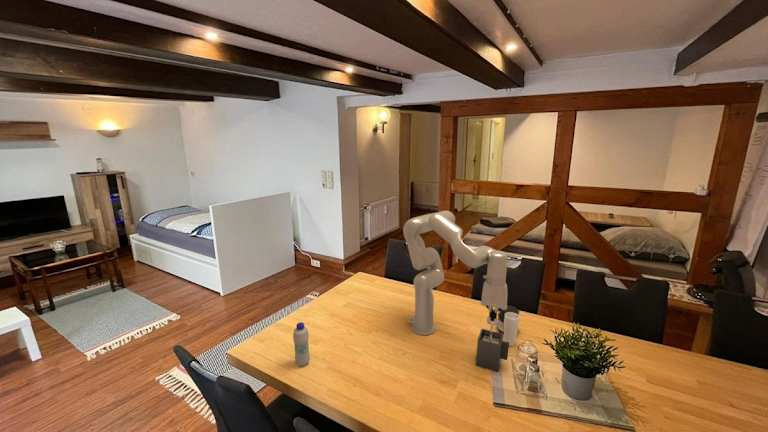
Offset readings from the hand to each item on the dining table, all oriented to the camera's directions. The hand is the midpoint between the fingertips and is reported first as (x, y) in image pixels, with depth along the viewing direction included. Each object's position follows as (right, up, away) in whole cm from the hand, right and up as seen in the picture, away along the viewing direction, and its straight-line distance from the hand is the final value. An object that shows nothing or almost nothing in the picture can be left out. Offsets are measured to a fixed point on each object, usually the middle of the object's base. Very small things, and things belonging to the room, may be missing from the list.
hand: (492, 319), depth 145 cm
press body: (+1, -21, +5) cm, 22 cm away
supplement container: (+17, -15, +30) cm, 38 cm away
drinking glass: (+14, -18, +19) cm, 30 cm away
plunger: (0, -12, +3) cm, 12 cm away
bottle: (-83, -21, +5) cm, 86 cm away
